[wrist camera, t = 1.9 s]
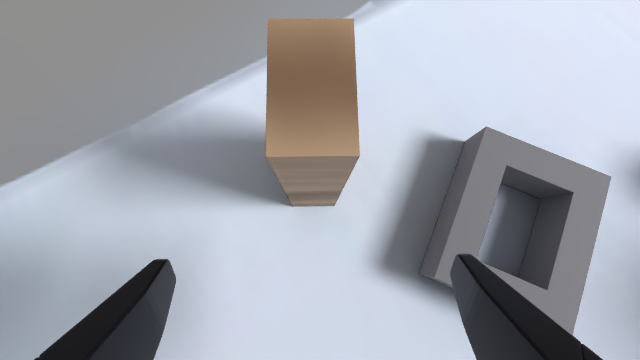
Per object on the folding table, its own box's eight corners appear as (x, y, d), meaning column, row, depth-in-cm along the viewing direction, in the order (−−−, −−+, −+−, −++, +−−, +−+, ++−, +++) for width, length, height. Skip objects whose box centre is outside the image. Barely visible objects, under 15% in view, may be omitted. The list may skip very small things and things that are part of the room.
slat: (334, 205, 23) (359, 155, 10) (292, 206, 23) (265, 156, 10) (332, 139, 24) (353, 18, 11) (292, 140, 24) (267, 19, 11)
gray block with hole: (536, 325, 21) (571, 337, 18) (418, 273, 22) (434, 277, 19) (573, 185, 23) (611, 176, 21) (465, 141, 24) (486, 126, 21)
